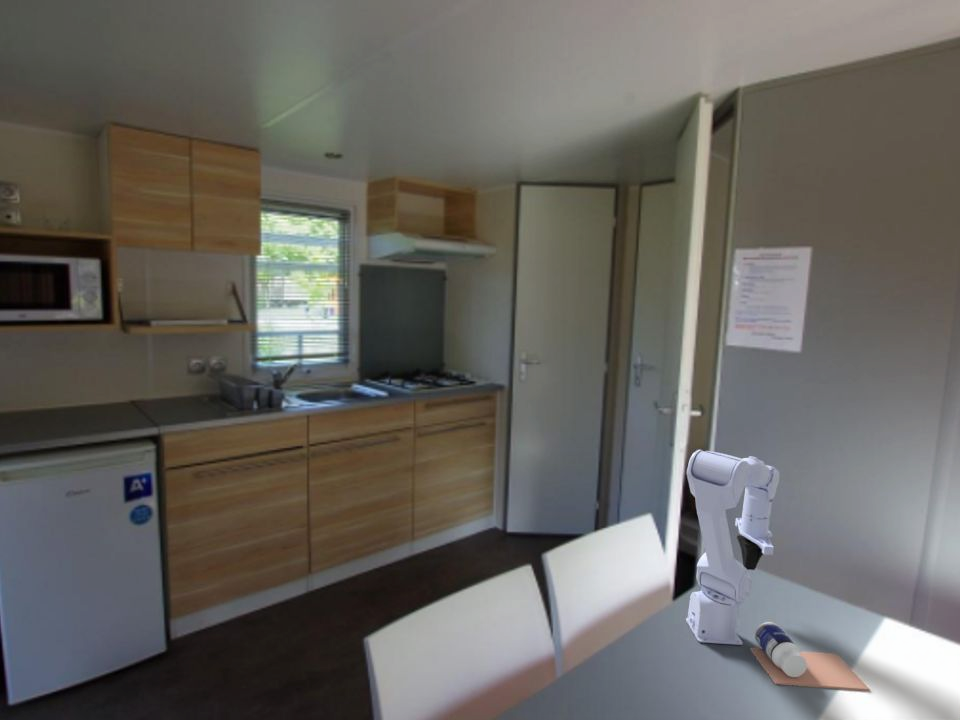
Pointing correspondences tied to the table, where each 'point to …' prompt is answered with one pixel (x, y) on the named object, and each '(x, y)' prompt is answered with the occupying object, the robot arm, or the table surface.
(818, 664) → the mat
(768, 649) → the pill bottle
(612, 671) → the table surface
